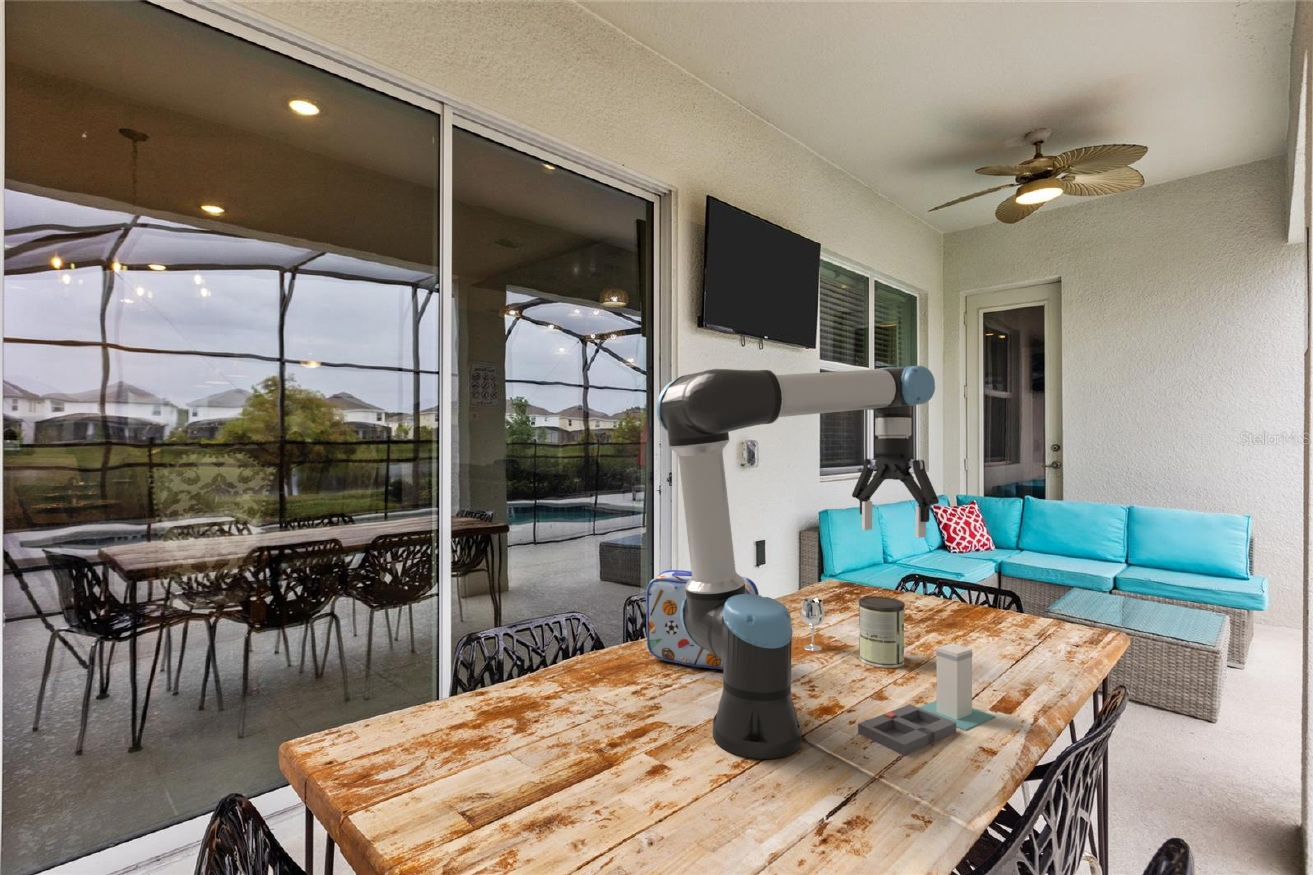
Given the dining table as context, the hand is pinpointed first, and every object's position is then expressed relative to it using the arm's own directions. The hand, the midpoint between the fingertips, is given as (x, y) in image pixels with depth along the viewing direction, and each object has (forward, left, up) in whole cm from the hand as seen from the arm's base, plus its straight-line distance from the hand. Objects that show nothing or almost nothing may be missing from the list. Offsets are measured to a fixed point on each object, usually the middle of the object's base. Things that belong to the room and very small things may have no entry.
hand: (892, 533), depth 135 cm
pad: (-8, -19, -32) cm, 38 cm away
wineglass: (0, +23, -32) cm, 39 cm away
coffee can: (+7, +8, -32) cm, 34 cm away
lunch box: (-30, +29, -32) cm, 53 cm away
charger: (-8, -19, -31) cm, 37 cm away
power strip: (-23, -19, -32) cm, 43 cm away
